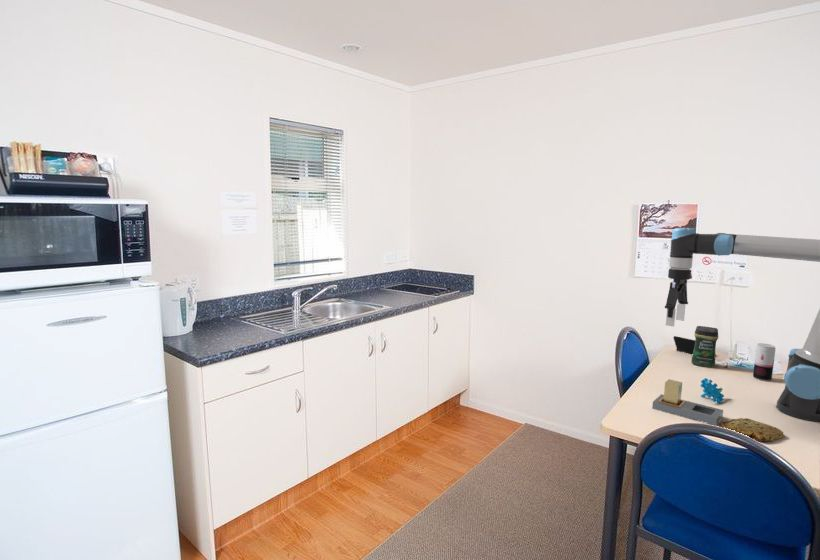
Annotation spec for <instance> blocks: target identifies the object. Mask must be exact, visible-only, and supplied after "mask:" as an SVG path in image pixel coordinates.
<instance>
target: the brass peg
mask: <svg viewBox="0 0 820 560" xmlns="http://www.w3.org/2000/svg"><path fill="white" fill-rule="evenodd" d="M663 391H664V392H663V395H664V400H663V402H666V403H670V404H673V405H677V406H679V405H680V402H681V400H682V391H683V382H682V381H678V380H673V379H669V378H668V379H667V380H666V381H664V390H663Z"/></svg>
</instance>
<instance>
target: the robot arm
mask: <svg viewBox="0 0 820 560" xmlns="http://www.w3.org/2000/svg"><path fill="white" fill-rule="evenodd" d="M669 253H670V254H669V259H667V261H668V262H669V267H670V268H669V269H668V273H667V277H668V279H670V280H671V279H673V281H671V282H670V283H669V289H668V294H667V298H666V303H665V305H664V309H666V317H665V318H666V319H665V326H667V327H675V323H676V322H675V321H685V314H686V313H685V312H686V305H689V301H688V280H691V277H692V267H693V258H694V254H695V255H696V254H697V255H698V254H699V255H709V256H712V255H714V256H730V255H737V256H738V255H740V256H750V257H760V258H761V257H763V258H771V259H772V258H773V259H782V260H783V259H784V260H795V261H803V262H804V261H806V262H817V263H820V239H813V238H798V237H785V236H784V237H782V236H781V237H780V236H767V235H766V236H765V235H753V234H752V235H751V234H733V233H725V232H717V233H696V229H695V228H693V227H675V228H674V229H672V235H671V239H670V252H669ZM783 380H784V384H785V386H784V389H783V391H782V393H781V394H780V395H779V397H778V399H777V400H776V407H775V408H776V409H777V410H778V411H779V412H781V413H782V414H786V415H787V416H791V417H793V418H798V419H801V420H805V421H811V422H820V308H819V309H818V312H817V314H816V316H815V318H814V321H813V323H812V326H811V328H810V330H809V333H808V335H807V338H806V339H805V342H804V344H803V346H802V348H792V349H790V351H789V354H788V361H787V368H786V371H785V373H784V375H783Z"/></svg>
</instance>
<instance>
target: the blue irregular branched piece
mask: <svg viewBox="0 0 820 560" xmlns="http://www.w3.org/2000/svg"><path fill="white" fill-rule="evenodd" d="M712 383H713V380H712V379H708V378H707V377H705V378H703V379H702V380H700V387H701V388H703V389H702V392H703V393H702V394H700V397H701V398H704V397H707V398H708V399H711V398H712V399H711V401H712V402H714V403H715V402H716V403H718V404H721V403H722V402H723V401H725V399H724V397H725V395H724V393H722V391H723V387H719V388H718V383H713V384H712Z"/></svg>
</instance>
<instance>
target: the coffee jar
mask: <svg viewBox="0 0 820 560" xmlns="http://www.w3.org/2000/svg"><path fill="white" fill-rule="evenodd" d="M694 337H695V339H694V340H695V346H694V351H693V355H692V354H691V355H692V356H691V361H690V362H691V364H693V365H695V366H697V367H698V366H699V367H703V368H715V366H716V355H715V353H716V348H717V347H716V346H717V341H718V339H719V329H718V328H717V327H711V326H703V325H697V326H696V327H695V330H694Z"/></svg>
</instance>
